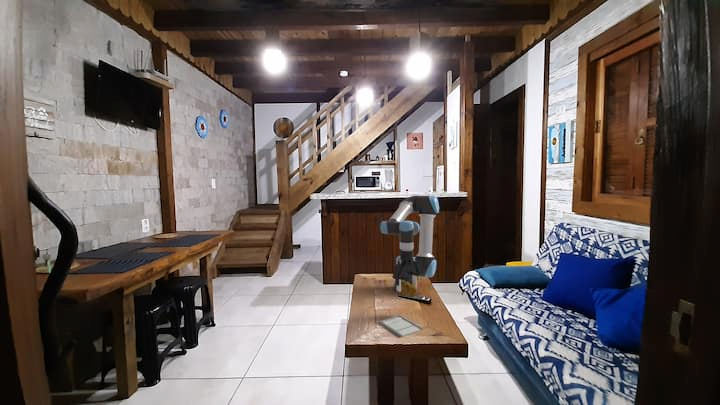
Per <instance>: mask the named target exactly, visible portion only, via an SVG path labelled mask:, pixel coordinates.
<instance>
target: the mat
mask: <svg viewBox="0 0 720 405" xmlns="http://www.w3.org/2000/svg"><path fill="white" fill-rule="evenodd" d="M378 324H380V325H381V326H383V327H385V329H387V330H388V331H390V332H392V333H394V334H395V335H396V336H397V337H399V338H402V337H406V336H409V335H411V334H415V333H418V332H420V331H423V327H422V326H420V325H419V324H417V323H415V322H413V321H412V320H410V319H408V318H406V317H405V316H402V315H401V314H398V315H397V316H393V317H390V318H386V319H383V320H380V319H379V320H378Z"/></svg>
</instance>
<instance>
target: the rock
mask: <svg viewBox="0 0 720 405" xmlns="http://www.w3.org/2000/svg"><path fill="white" fill-rule="evenodd" d="M395 293H396V294H397V295H401V296H404V295H405V296H406V297H413V296H417V295H418V288H417V287H415V286H413V285H411V284H410V283H408V282H405V281H404V280H401V292H399V291H397V286H396V291H395Z"/></svg>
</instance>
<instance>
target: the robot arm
mask: <svg viewBox="0 0 720 405" xmlns="http://www.w3.org/2000/svg"><path fill="white" fill-rule="evenodd" d="M412 213H418V216H419V219H420V222H419V223H420V224H419V223H418V222H416V221H412V220H406V218H407V217H408V216H409V215H410V214H412ZM439 213H440V205H439V199H438V197H437V196H436V195H411V196H408V197H407V198H405V199H404V200H402V201H401V202H400V203H399V206H398V208H397V210H395V212H394V213H393V214H392V216H391V217H390V218H389V220H385V221H384V220H383V221H381V223H380V226H379V227H380V228H379V229H380V232H381V233H382V234H385V235H397V236H398V235H399V249H400V250H399V255H398V256H397V257H396V258H395V261H394V262H395V265H394V270H393V272H392V278H391V279H394V284H393V286H392V288H393V290H394V291H395V292H396V286H397V291H399V292H401V280H404V281H405V282H408V283H410V284H411V285H413V286H415V287H416V288H417V287H418V279H419V278H418V277H422V278H433V277H434V275H435V272H436V270H437V260H436V259H435V256H434V255H433V240H434V239H433V236H434V235H433V233H434V218H435V217H436V216H437V214H439ZM418 233H419V240H418V241H419V243H418V253H417V254H416V255H414V254H415V253H414V247H415V246H414V236H416V235H417V234H418Z"/></svg>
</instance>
